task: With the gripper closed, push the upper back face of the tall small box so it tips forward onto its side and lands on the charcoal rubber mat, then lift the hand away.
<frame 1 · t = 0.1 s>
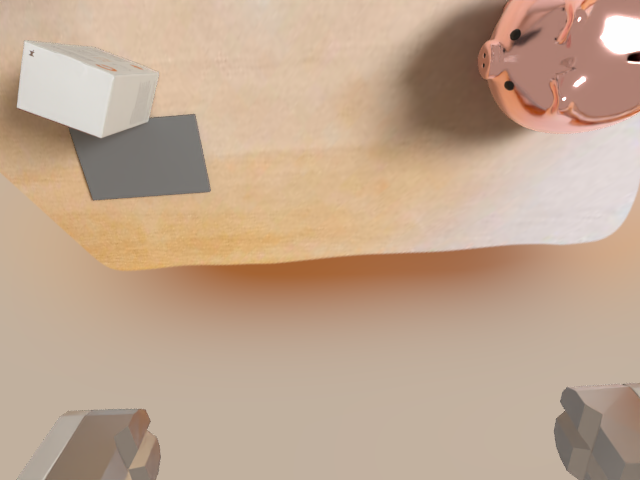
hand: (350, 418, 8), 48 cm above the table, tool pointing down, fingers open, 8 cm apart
piggy bank: (537, 49, 49), on the table
small box: (122, 85, 51), on the table, touching mat
mat: (142, 158, 55), on the table
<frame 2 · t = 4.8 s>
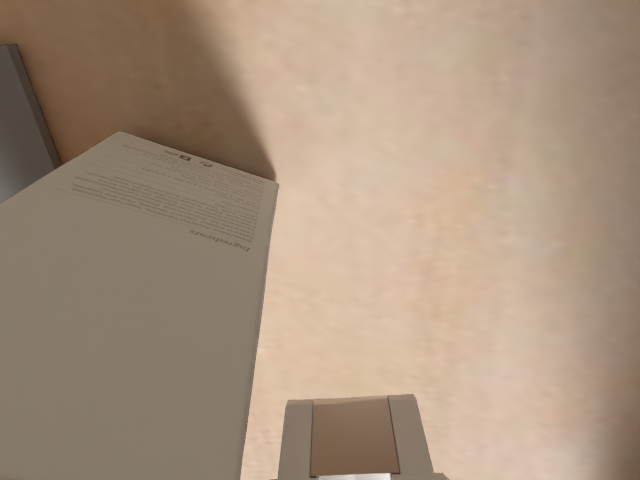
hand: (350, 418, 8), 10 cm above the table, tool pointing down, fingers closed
small box: (181, 241, 18), on the table, touching gripper, mat
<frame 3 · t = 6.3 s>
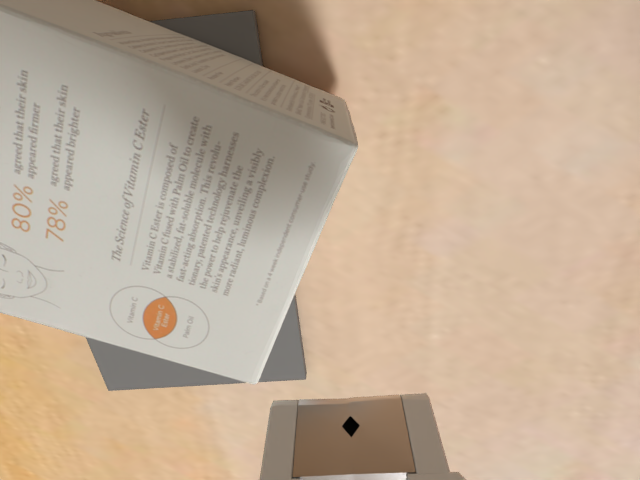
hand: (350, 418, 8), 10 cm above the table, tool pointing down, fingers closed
small box: (313, 236, 14), point 4 cm above the table, touching mat
mat: (168, 236, 18), on the table
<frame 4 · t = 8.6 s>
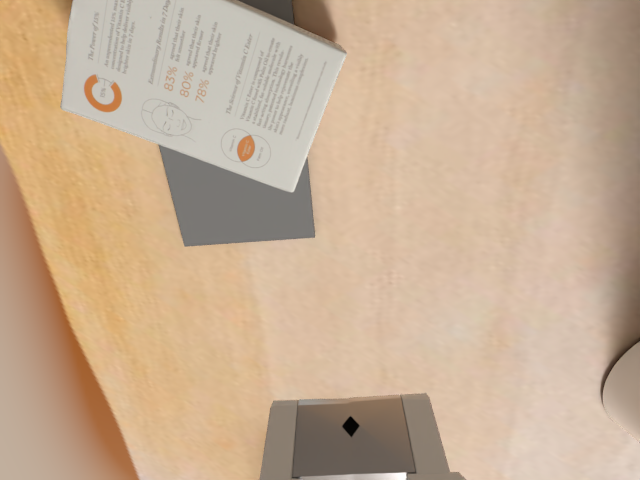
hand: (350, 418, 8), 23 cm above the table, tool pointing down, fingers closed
small box: (323, 119, 25), point 4 cm above the table, touching mat
mat: (232, 135, 29), on the table
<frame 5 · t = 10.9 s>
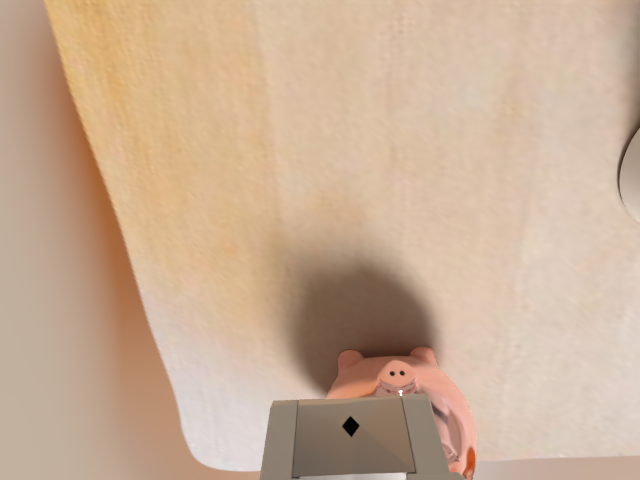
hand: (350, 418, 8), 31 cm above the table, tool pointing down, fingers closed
piggy bank: (385, 377, 50), on the table
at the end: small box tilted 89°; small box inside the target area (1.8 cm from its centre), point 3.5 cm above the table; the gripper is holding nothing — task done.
